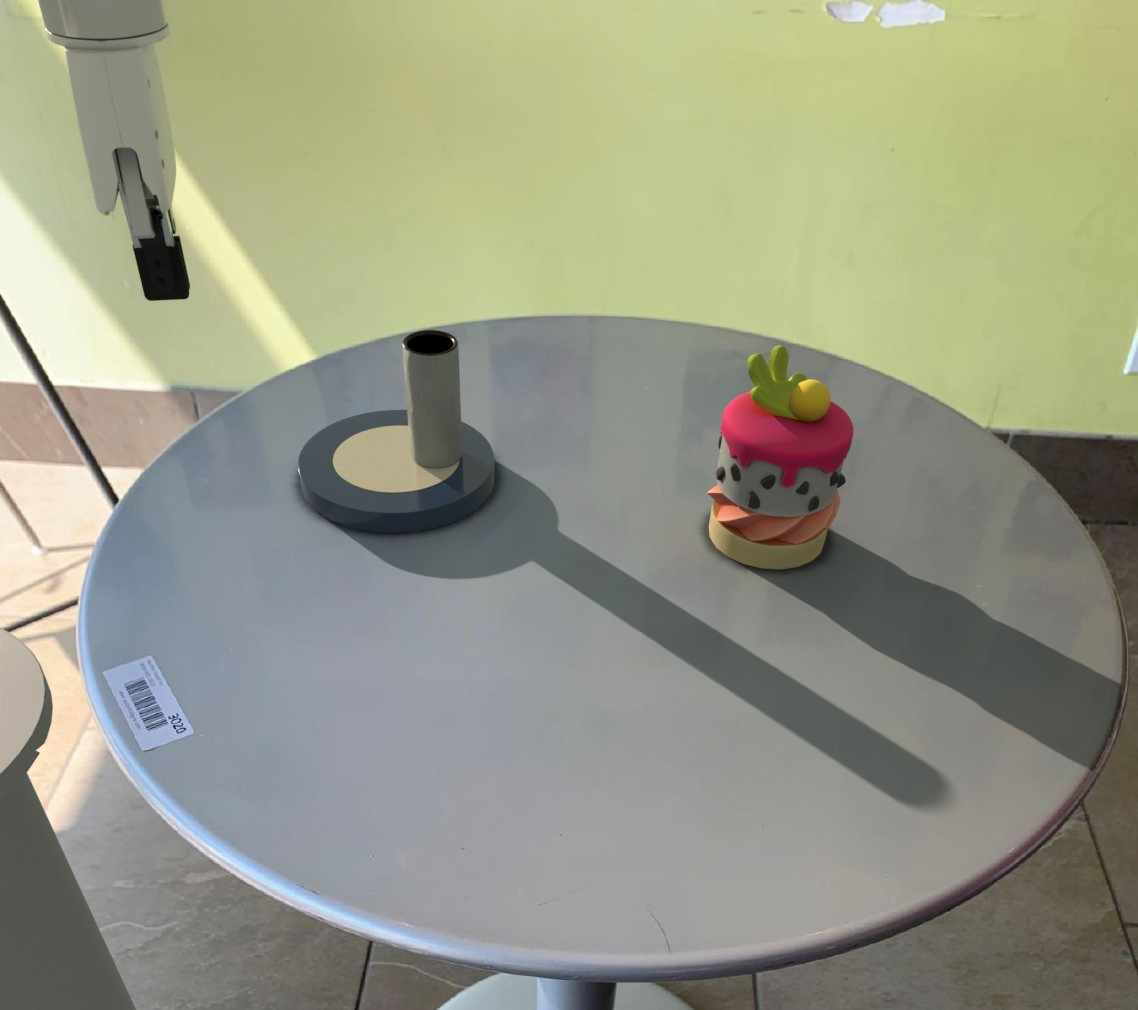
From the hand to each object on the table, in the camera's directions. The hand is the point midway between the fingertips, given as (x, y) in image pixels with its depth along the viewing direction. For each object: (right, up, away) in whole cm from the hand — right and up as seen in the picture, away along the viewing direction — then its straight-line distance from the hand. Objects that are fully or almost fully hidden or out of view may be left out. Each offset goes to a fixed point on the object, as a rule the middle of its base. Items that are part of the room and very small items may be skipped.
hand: (168, 294), depth 84 cm
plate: (+15, -10, +15) cm, 23 cm away
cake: (+47, -16, +11) cm, 51 cm away
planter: (+19, -8, +14) cm, 25 cm away
